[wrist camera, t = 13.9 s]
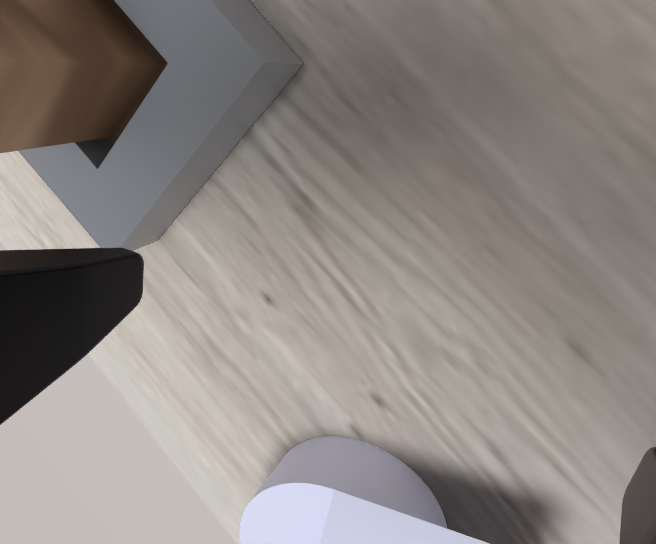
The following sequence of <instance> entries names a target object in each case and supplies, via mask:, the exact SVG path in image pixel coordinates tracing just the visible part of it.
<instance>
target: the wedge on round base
mask: <svg viewBox="0 0 656 544" xmlns="http://www.w3.org/2000/svg"><path fill="white" fill-rule="evenodd" d="M239 540H240V544H489V543H486V542H484V541H481V540H478V539H475V538H472V537H469V536H466V535H463V534H461V533H458V532H455V531H452V530H449V529H447V524H446V520H445V517H444V514H443V511H442V509H441V507H440V505H439V503H438V501H437V499H436V498H435V496H434V495H433V493H432V492H431V490H430V489H429V488H428V486H427V485H426V484H425V483H424V482H423V480H422V479H421V478H420V477H419V476H418V475H417V474H416V473H415V472H414V471H413V470H412V469H411V468H409V467H408V466H407V465H406V464H404V463H403V462H402V461H401V460H399V459H398V458H396V457H395V456H393V455H391V454H390V453H388V452H386V451H384V450H382V449H380V448H378V447H376V446H374V445H372V444H369V443H366V442H363V441H360V440H356V439H352V438H346V437H338V436H325V437H318V438H313V439H310V440H307V441H304V442H302V443H300V444H298V445H296V446H295V447H294V448H292V449H291V450H290V451H289V452H288V453H287V454H286V455H285V456H284V457H283V458H282V460H281V461H280V462H279V464H278V465H277V466H276V468H275V469H274V470H273V472H272V473H271V474H270V476H269V477H268V478H267V480H266V481H265V482H264V484H263V485H262V486H261V488H260V489H259V490H258V492H257V493H256V494H255V496H254V497H253V498H252V500H251V501H250V502H249V504H248V505H247V507H246V509H245V510H244V512H243V515H242V518H241V522H240V529H239Z"/></svg>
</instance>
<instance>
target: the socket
mask: <svg viewBox="0 0 656 544" xmlns="http://www.w3.org/2000/svg"><path fill="white" fill-rule="evenodd" d="M114 1H115V2H116V3H117V4H118V5H119V7H120V8H121V9H122V10H123V11H124V12H125V14H126V15H127V16H128V17H129V18H130V19H131V20H132V22H133V23H134V24H135V25H136V26H137V27H138V29H139V30H140V31H141V32H142V33H143V34H144V36H145V37H146V38H147V39H148V40H149V41H150V43H151V44H152V45H153V46H154V47H155V48H156V50H157V51H158V52H159V53H160V54H161V55H162V57H163V58H164V59H165V60H166V61H167V62H168V64H167V66H166V67H165V69H164V70H163V72H162V73H161V75H160V76H159V78H158V79H157V81H156V82H155V84H154V85H153V87H152V88H151V90H150V91H149V93H148V94H147V96H146V97H145V99H144V100H143V102H142V103H141V105H140V106H139V108H138V109H137V111H136V112H135V114H134V115H133V117H132V118H131V120H130V121H129V123H128V124H127V126H126V127H125V129H124V130H123V132H122V133H121V135H120V136H116V137H109V138H102V139H95V140H88V141H81V142H74V143H67V144H60V145H53V146H46V147H39V148H32V149H25V150H18V151H19V152H20V154H21V155H22V156H23V157H24V158H25V159H26V161H27V162H28V163H29V164H30V165H31V166H32V168H33V169H34V170H35V171H36V172H37V174H38V175H39V176H40V177H41V178H42V179H43V181H44V182H45V183H46V184H47V185H48V186H49V188H50V189H51V190H52V191H53V192H54V193H55V195H56V196H57V197H58V198H59V199H60V201H61V202H62V203H63V204H64V205H65V206H66V208H67V209H68V210H69V211H70V212H71V213H72V215H73V216H74V217H75V218H76V219H77V221H78V222H79V223H80V224H81V225H82V226H83V228H84V229H85V230H86V231H87V232H88V233H89V235H90V236H91V237H92V238H93V239H94V240H95V242H96V243H97V244H98V245H99V246H100V248H126V249H128V250H131V251H133V250H135V249H138V248H140V247H143V246H145V245H148V244H150V243H152V242H155V241H157V240H158V239H159V238H160V237H161V235H162V234H163V233H164V232H165V231H166V229H167V228H168V227H169V226H170V225H171V223H172V222H173V221H174V220H175V219H176V217H177V216H178V215H179V214H180V212H181V211H182V210H183V209H184V208H185V206H186V205H187V204H188V203H189V202H190V200H191V199H192V198H193V197H194V196H195V194H196V193H197V192H198V191H199V190H200V188H201V187H202V186H203V185H204V183H205V182H206V181H207V180H208V179H209V177H210V176H211V175H212V174H213V173H214V171H215V170H216V169H217V168H218V167H219V165H220V164H221V163H222V162H223V161H224V159H225V158H226V157H227V156H228V155H229V153H230V152H231V151H232V150H233V148H234V147H235V146H236V145H237V144H238V142H239V141H240V140H241V139H242V138H243V136H244V135H245V134H246V133H247V132H248V130H249V129H250V128H251V127H252V126H253V124H254V123H255V122H256V121H257V120H258V118H259V117H260V116H261V115H262V113H263V112H264V111H265V110H266V109H267V107H268V106H269V105H270V104H271V103H272V101H273V100H274V99H275V98H276V97H277V95H278V94H279V93H280V92H281V91H282V89H283V88H284V87H285V86H286V85H287V83H288V82H289V81H290V80H291V78H292V77H293V76H294V75H295V74H296V72H297V71H298V70H299V69H300V68H301V66H302V65H303V64H304V63H303V62H302V61H301V60H300V59H299V58H298V56H297V55H296V54H295V53H294V52H293V51H292V49H291V48H290V47H289V46H288V45H287V44H286V43H285V41H284V40H283V39H282V38H281V37H280V36H279V34H278V33H277V32H276V31H275V30H274V29H273V27H272V26H271V25H270V24H269V23H268V22H267V21H266V19H265V18H264V17H263V16H262V15H261V14H260V12H259V11H258V10H257V9H256V8H255V7H254V5H253V4H252V3H251V2H250V1H249V0H114Z"/></svg>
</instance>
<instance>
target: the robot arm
mask: <svg viewBox="0 0 656 544" xmlns="http://www.w3.org/2000/svg"><path fill="white" fill-rule="evenodd" d="M143 271H144V261H143V258H142V256H141V255H140V254H138V253H136V252H134V251H131V250H128V249H126V248H83V249H43V250H3V251H0V425H1V424H2V423H3V422H4V421H6V420H7V419H8V418H9V417H11V416H12V415H13V414H14V413H16V412H17V411H18V410H19V409H20V408H22V407H23V406H24V405H26V404H27V403H28V402H29V401H30V400H32V399H33V398H34V397H36V396H37V395H38V394H39V393H40V392H42V391H43V390H44V389H45V388H47V387H48V386H49V385H50V384H51V383H53V382H54V381H55V380H57V379H58V378H59V377H60V376H62V375H63V374H64V373H65V372H66V371H68V370H69V369H70V368H72V367H73V366H74V365H75V364H76V363H78V362H79V361H80V360H81V359H82V358H83V357H85V356H86V355H87V354H88V353H89V352H90V351H91V350H92V349H93V348H94V347H95V346H96V345H97V344H98V343H99V342H100V341H101V340H102V339H103V338H104V337H105V336H107V335H108V334H109V333H110V332H111V331H112V330H113V329H114V328H115V327H116V326H117V325H118V324H119V323H120V322H121V321H122V320H123V319H124V318H125V317H126V316H127V315H128V314H129V313H130V312H131V311H132V310H133V309H134V308H135V307H136V306H137V305H138V303H139V302H140V300H141V297H142V293H143ZM620 544H656V447H652V448H650V449H649V450H648V451H647V452H646V453H645V455H644V457H643V459H642V460H641V462H640V464H639V466H638V468H637V470H636V471H635V473H634V475H633V477H632V479H631V481H630V483H629V484H628V486H627V488H626V491H625V494H624V497H623V503H622V515H621V530H620Z"/></svg>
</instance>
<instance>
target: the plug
mask: <svg viewBox="0 0 656 544" xmlns="http://www.w3.org/2000/svg"><path fill="white" fill-rule="evenodd" d="M167 64H168V62H167V61H166V60H165V59H164V58H163V57H162V55H161V54H160V53H159V52H158V51H157V50H156V48H155V47H154V46H153V45H152V44H151V43H150V41H149V40H148V39H147V38H146V37H145V36H144V34H143V33H142V32H141V31H140V30H139V29H138V27H137V26H136V25H135V24H134V23H133V22H132V20H131V19H130V18H129V17H128V16H127V15H126V14H125V12H124V11H123V10H122V9H121V8H120V7H119V5H118V4H117V3H116V2H115V1H114V0H0V153H4V152H11V151H18V150H25V149H32V148H39V147H46V146H53V145H60V144H67V143H74V142H81V141H88V140H95V139H102V138H109V137H116V136H120V135H121V133H122V132H123V130H124V129H125V127H126V126H127V124H128V123H129V121H130V120H131V118H132V117H133V115H134V114H135V112H136V111H137V109H138V108H139V106H140V105H141V103H142V102H143V100H144V99H145V97H146V96H147V94H148V93H149V91H150V90H151V88H152V87H153V85H154V84H155V82H156V81H157V79H158V78H159V76H160V75H161V73H162V72H163V70H164V69H165V67H166V66H167Z"/></svg>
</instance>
